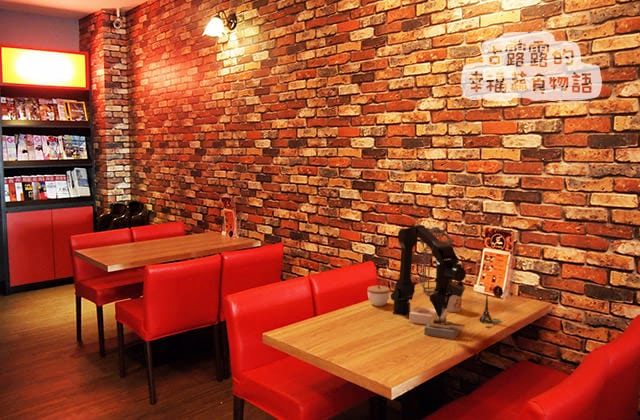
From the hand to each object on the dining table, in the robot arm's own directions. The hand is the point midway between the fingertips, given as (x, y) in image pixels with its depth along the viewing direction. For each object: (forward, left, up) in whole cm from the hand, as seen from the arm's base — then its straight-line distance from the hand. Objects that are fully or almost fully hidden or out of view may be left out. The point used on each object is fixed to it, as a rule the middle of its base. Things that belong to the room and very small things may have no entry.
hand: (442, 313), depth 220 cm
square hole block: (-11, +12, -8) cm, 18 cm away
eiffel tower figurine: (+14, +22, -9) cm, 28 cm away
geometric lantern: (-17, +54, -8) cm, 57 cm away
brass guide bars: (+2, 0, -5) cm, 5 cm away
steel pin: (0, 0, -8) cm, 8 cm away
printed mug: (-3, +34, -8) cm, 35 cm away
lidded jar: (-37, +26, -8) cm, 46 cm away
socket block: (0, 0, -8) cm, 8 cm away
